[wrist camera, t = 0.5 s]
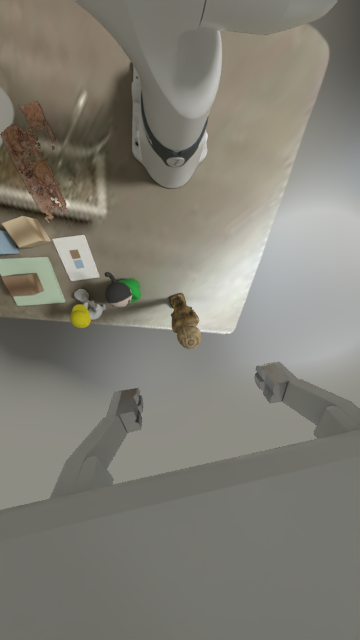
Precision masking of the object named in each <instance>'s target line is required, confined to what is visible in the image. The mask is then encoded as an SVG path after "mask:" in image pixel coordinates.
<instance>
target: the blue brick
mask: <svg viewBox="0 0 360 640" xmlns="http://www.w3.org/2000/svg"><path fill="white" fill-rule="evenodd" d="M17 253H19V251H18V249H17V247H16V245H15V243H14V241H13V238H12V237H11V236H10V234H9V233H8V231H0V254H17Z"/></svg>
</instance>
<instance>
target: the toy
mask: <svg viewBox="0 0 360 640" xmlns="http://www.w3.org/2000/svg"><path fill="white" fill-rule="evenodd" d="M105 276H106V277H110V279H111V280H112V284H110V285H109V286H108V287H107V289H106V292H105V297H106V299H107V301H108V302H109V303H110V304H111V305H112V306H114V307H124V306H127V305H128V304H129V303H130V302H135V301H137V300H139V299H140V297H141V292H140V289H139V288H140V285H139V282H138V281H137V280H135V279H132V278H130V279H123V280H119V281H117V282H116V280H115V279H114V276H113V275H112V274H111V273H109V272H106V273H105Z"/></svg>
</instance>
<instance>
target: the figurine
mask: <svg viewBox="0 0 360 640" xmlns="http://www.w3.org/2000/svg"><path fill="white" fill-rule="evenodd" d="M74 295H75V298H76V299H78V300H80V301H81V302H83V303H84V302H85V303H84V304H83V305H81V304H79V305H75V306H74V307H73V310H72V313H71V317H70V320H71V323H72V324H73V325H74V326H76V327H79V328H84V327H87V326H88V325H89V324H90V321H91V320H95V319H97V318H99V317H100V316H101V314H102V311H104V310H106V306H105V304H103V306H102V307H101V306H100V305H99V304H96V305H95V303H94V301H89V300H88V299H89V294H88V292H87V291H86V290H85V289H78V290H77V291H75V293H74ZM89 305H90V306H89ZM88 307H89V309H88Z"/></svg>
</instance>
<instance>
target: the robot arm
mask: <svg viewBox="0 0 360 640" xmlns="http://www.w3.org/2000/svg"><path fill="white" fill-rule="evenodd" d="M74 1H75V2H76V3H77V4H79V5H80V6H81V7H82V8H84V9H85V10H86V11H87V12H88V13H90V14H91V15H92V16H93V17H94V18H95V19H96V20H97V21H98V22H99V23H100V24H101V25H102V26H103V27H104V28H105V29H106V30H107V31H108V32H109V33H110V34H111V35H112V36H113V38H114V39H115V40H116V41H117V43H118V44H119V45H120V46H121V48H122V49H123V50H124V52H125V53H126V55H127V56H128V57H129V59H130V60H131V62H132V64H133V83H132V101H133V118H132V153H133V155H134V157H135V158H136V159H137V160H138V161H139V162H141V163H142V164H143V165H144V166H145V168H146V170H147V171H148V173H149V174H150V176H151V177H152V178H153V179H154V180H155V181H156V182H157V183H158V184H160V185H161V186H163V187H166V188H178V187H180V186H182V185H184V184H185V183H186V182H187V181H188V180H189V179H190V178H191V176H192V175H193V173H194V171H195V169H196V167H197V165H198V164H200V163H201V162H202V161H203V160H204V159H205V157H206V154H207V146H206V141H207V133H206V126H207V121H208V115H209V112H210V109H211V107H212V104H213V101H214V99H215V96H216V93H217V90H218V86H219V81H220V75H221V67H222V44H221V35H220V30H221V31H230V32H239V33H248V34H257V35H269V34H273V33H277V32H280V31H284V30H288V29H291V28H294V27H297V26H300V25H303V24H306V23H309V22H311V21H314V20H317V19H319V18H321V17H322V16H323V15H325V14H326V13H327V12H328V11H329V10H330V9H331V8H332V7H333V6H334V4H335V3H336V2H337V1H338V0H74ZM136 143H138V144H139V146H136ZM256 371H257V373H256V374H255V382H256V384H257V386H258V387H259V389H261V390H263V394H264V396H265V397H266V399H267V400H268V401H269V403H275V402H281V401H283V403H285V404H286V405H288V406H289V407H291V408H292V409H294V410H295V411H297V412H298V413H299V414H301V415H302V416H304V417H305V418H307V419H308V420H310V421H311V422H313V423H314V424H315V425H317V427H316V428H315V430H314V435H315V436H316V437H317V439H315V440H310V441H306V442H301V443H297V444H292V445H288V446H283V447H278V448H274V449H270V450H265V451H261V452H256V453H252V454H247V455H243V456H238V457H234V458H230V459H225V460H221V461H216V462H212V463H207V464H203V465H198V466H194V467H189V468H185V469H180V470H176V471H172V472H167V473H163V474H158V475H154V476H149V477H145V478H140V479H136V480H131V481H127V482H122V483H118V484H114V485H112V484H113V477H112V475H111V474H110V473H109V472H108V471H107V468H108V466H109V464H110V462H111V461H112V459H113V457H114V456H115V454H116V452H117V450H118V449H119V447H120V445H121V444H122V442H123V440H124V439H125V437H126V435H127V433H129V432H133V431H137V430H141V425H142V417H141V413H142V412H143V399H142V396H141V395H140V390H139V388H135V389H129V390H123V391H117V392H114V394H113V397H112V400H111V403H110V406H109V410H108V413H107V416H106V418H103V419H102V420H101V421H100V423H99V424H98V425H97V426H96V427H95V428H94V429H93V431H92V432H91V433H90V434H89V435H88V436H87V438H86V439H85V440H84V441H83V442H82V443H81V445H80V446H79V447H78V448H77V449H76V450H75V451H74V452H73V454H72V455H71V456H70V457H69V458H68V459H67V461H66V462H65V464H64V467H63V469H62V471H61V474H60V476H59V478H58V481H57V483H56V485H55V488H54V490H53V492H52V494H51V497H50V499H47V500H42V501H38V502H33V503H29V504H25V505H20V506H16V507H11V508H7V509H3V510H0V640H360V408H358V407H357V406H356V405H355V404H353V403H352V402H351V401H349V400H347V399H344V398H342V397H339V396H337V395H335V394H333V393H331V392H328V391H326V390H324V389H322V388H319V387H317V386H315V385H313V384H310V383H308V382H306V381H304V380H301V379H300V380H299V379H298V378H296V377H295V376H294V375H293V374H292V373H291V372H290V371H289V370H288V369H287V368H286V367H285V366H284V365H283V364H282V363H280V362H274V363H268V364H263V365H258V366H257V367H256Z"/></svg>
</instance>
